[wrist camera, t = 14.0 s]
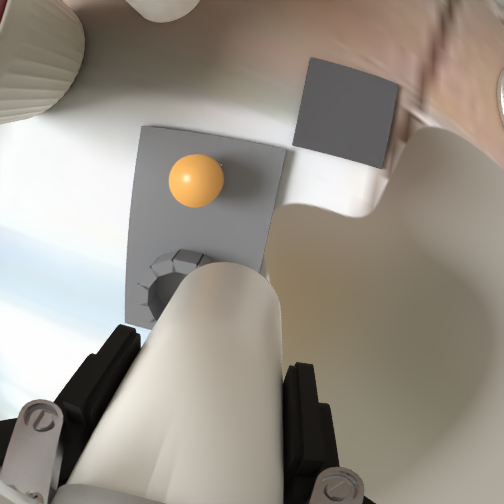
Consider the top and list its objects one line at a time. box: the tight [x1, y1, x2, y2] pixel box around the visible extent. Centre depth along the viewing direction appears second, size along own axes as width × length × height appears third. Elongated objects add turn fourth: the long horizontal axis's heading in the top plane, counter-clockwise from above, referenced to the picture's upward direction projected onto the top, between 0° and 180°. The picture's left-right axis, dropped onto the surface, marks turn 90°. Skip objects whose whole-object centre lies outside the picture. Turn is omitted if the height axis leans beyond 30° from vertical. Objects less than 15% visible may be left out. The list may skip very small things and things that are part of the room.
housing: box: [125, 126, 286, 330], centre depth 31 cm, size 14×22×4 cm, turn 169°
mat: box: [292, 57, 398, 169], centre depth 27 cm, size 9×9×1 cm
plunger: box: [169, 154, 224, 208], centre depth 28 cm, size 4×4×4 cm
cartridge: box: [51, 262, 284, 504], centre depth 9 cm, size 5×5×12 cm
